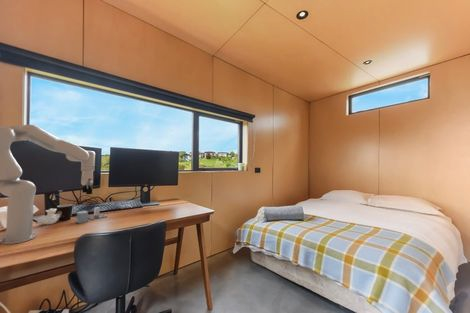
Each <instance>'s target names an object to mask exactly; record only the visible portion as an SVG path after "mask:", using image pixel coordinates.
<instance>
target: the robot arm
mask: <svg viewBox="0 0 470 313" xmlns="http://www.w3.org/2000/svg"><path fill="white" fill-rule="evenodd" d="M21 141H29V142H32V143H34V144H36V145H38V146H40V147H42V148H44V149H46V150H49V151H51V152H55V153H61V154H64V155H65V158H66V159H67V160H68V161H70V162H80V163H81V164H80V171H81V179H80V184H81V185H82V190H81V191H82V193H85V194H86V195H93V184H94V171H95V170H96V169H95V168H96V167H95V166H96V165H95V164H96V152H95V151H93V150H85V149H84V148H82V147H80V146H78V145H77V144H74V143H72V142H70V141H66V139H62V138H60V137H57V136H56V135H53V134H52V133H50V132H48V131H47V130H44V129H43V128H41V127H40V126H37V125H34V124H20V125H11V126H8V125H7V126H0V193H1V195H3V196H6V197H9V198H8V202H7V207H6V227H5V228H6V230H5V232H4V233H3V234H1V235H0V243H1V244H2V245H14V244H20V243H25V242H29V241H31V240H34V239H35V238H36V237H37V233H36V232H35V233H34V232H33V229H34V228H33V227H34V226H33V225H34V221H33V220H34V203H35V197H36V192H37V186H36V185H35V184H34V182H33V181H30V180H25V179H20V177H22V175H23V169H22V167H21V166H20V165H19V163H18V162H17V160H16V158H15V157H14V156H13V153H12V151H11V145H12V143H14V142H21Z"/></svg>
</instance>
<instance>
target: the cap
mask: <svg viewBox="0 0 470 313" xmlns="http://www.w3.org/2000/svg"><path fill="white" fill-rule="evenodd" d="M88 216H89V212H88V211H87V210H82V211H76V219H75V220H76V221H75V222H76V223H77V224H83V223H87V222H89V219H88Z"/></svg>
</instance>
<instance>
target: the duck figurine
mask: <svg viewBox="0 0 470 313" xmlns="http://www.w3.org/2000/svg"><path fill="white" fill-rule="evenodd" d="M56 211H57V208H56V209H55V208H49V209H46V210H45V212H46V213H47V214H46V215H43V216H41V217H39V218H38V219H37V224H38V225H39V226H41V225H52V224H55V223H57V222H58V221H59V220H58V219H59V218H60V214H57V213H56Z"/></svg>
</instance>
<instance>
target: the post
mask: <svg viewBox="0 0 470 313" xmlns="http://www.w3.org/2000/svg"><path fill="white" fill-rule="evenodd" d="M100 211H101V210H100V207H94V208H93V215H88V220H90V221H91V220H98V219H104V218H107V217H108V216H107V215H105V214H103V213H100Z"/></svg>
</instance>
